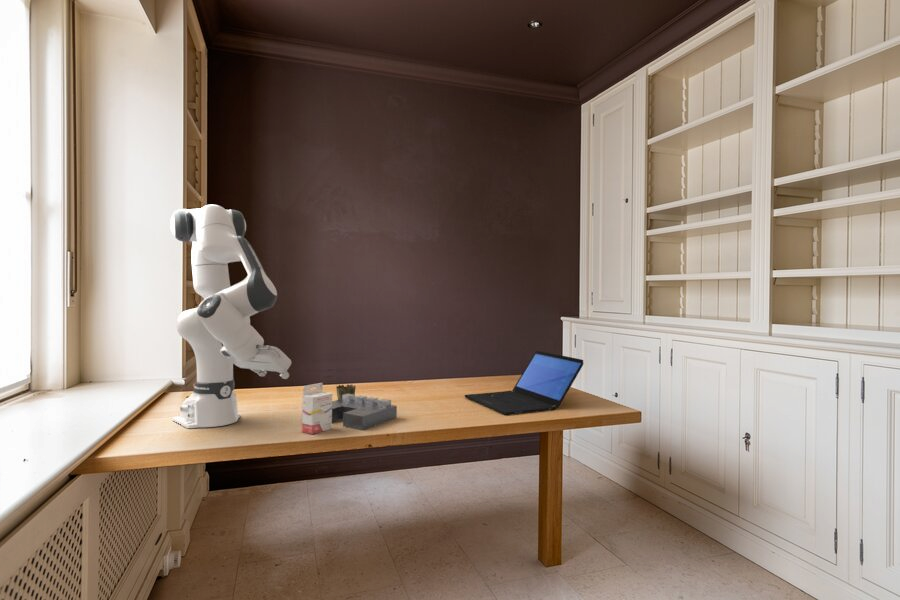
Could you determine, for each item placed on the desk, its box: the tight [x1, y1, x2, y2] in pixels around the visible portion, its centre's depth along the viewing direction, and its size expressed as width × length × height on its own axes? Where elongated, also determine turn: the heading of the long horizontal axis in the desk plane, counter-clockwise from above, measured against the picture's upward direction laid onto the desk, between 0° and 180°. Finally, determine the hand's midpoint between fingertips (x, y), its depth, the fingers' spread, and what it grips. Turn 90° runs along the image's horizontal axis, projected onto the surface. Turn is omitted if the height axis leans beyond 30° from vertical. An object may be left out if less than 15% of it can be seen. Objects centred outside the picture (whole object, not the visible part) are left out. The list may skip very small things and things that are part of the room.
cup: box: [335, 383, 357, 400], centre depth 189 cm, size 8×7×8 cm
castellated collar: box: [332, 394, 398, 431], centre depth 170 cm, size 24×18×6 cm
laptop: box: [464, 350, 584, 416], centre depth 199 cm, size 33×38×19 cm
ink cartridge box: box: [301, 382, 333, 435], centre depth 155 cm, size 9×5×15 cm, turn 149°
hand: (275, 375), depth 140 cm, fingers open, 8 cm apart
